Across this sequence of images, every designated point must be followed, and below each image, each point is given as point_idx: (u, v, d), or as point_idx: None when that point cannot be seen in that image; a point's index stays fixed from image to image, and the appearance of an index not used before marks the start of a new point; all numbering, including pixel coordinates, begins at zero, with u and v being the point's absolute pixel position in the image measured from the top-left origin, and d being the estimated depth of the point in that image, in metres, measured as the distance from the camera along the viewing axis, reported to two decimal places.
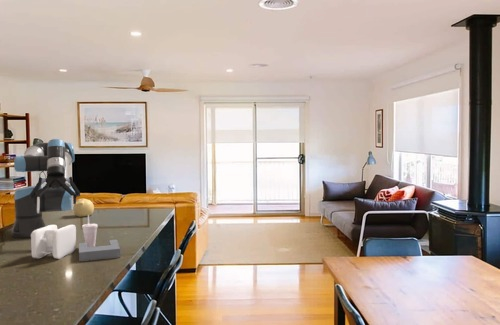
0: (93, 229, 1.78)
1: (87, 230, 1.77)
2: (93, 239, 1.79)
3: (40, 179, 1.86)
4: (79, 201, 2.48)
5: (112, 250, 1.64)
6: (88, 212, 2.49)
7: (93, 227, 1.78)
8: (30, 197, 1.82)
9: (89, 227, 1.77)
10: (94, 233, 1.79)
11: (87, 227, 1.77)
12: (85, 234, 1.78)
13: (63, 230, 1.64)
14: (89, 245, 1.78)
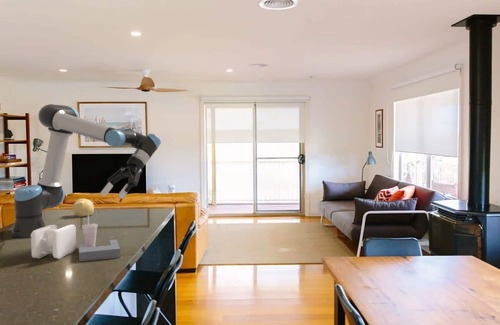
0: (93, 229, 1.78)
1: (87, 230, 1.77)
2: (93, 239, 1.79)
3: None
4: (79, 201, 2.48)
5: (112, 250, 1.64)
6: (88, 212, 2.49)
7: (93, 227, 1.78)
8: (133, 183, 1.85)
9: (89, 227, 1.77)
10: (94, 233, 1.79)
11: (87, 227, 1.77)
12: (85, 234, 1.78)
13: (63, 230, 1.64)
14: (89, 245, 1.78)
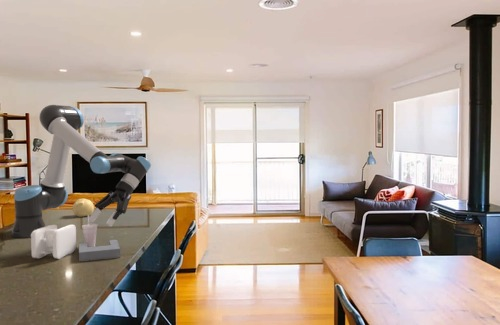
0: (93, 229, 1.78)
1: (87, 230, 1.77)
2: (93, 239, 1.79)
3: None
4: (79, 201, 2.48)
5: (112, 250, 1.64)
6: (88, 212, 2.49)
7: (93, 227, 1.78)
8: (122, 210, 1.79)
9: (89, 227, 1.77)
10: (94, 233, 1.79)
11: (87, 227, 1.77)
12: (85, 234, 1.78)
13: (63, 230, 1.64)
14: (89, 245, 1.78)
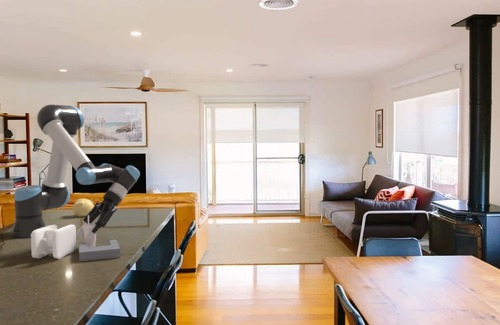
0: None
1: (88, 230, 1.77)
2: (93, 239, 1.79)
3: None
4: (79, 201, 2.48)
5: (112, 250, 1.64)
6: (88, 212, 2.49)
7: None
8: (101, 224, 1.77)
9: (89, 227, 1.77)
10: None
11: (87, 227, 1.77)
12: (85, 234, 1.78)
13: (63, 230, 1.64)
14: (89, 245, 1.78)
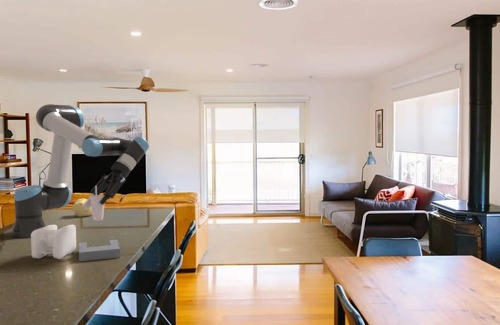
0: None
1: (95, 202, 1.69)
2: (101, 211, 1.71)
3: None
4: (79, 201, 2.48)
5: (112, 250, 1.64)
6: (88, 212, 2.49)
7: None
8: (109, 194, 1.68)
9: (97, 198, 1.69)
10: None
11: (95, 198, 1.69)
12: (93, 205, 1.70)
13: (63, 230, 1.64)
14: (96, 217, 1.70)
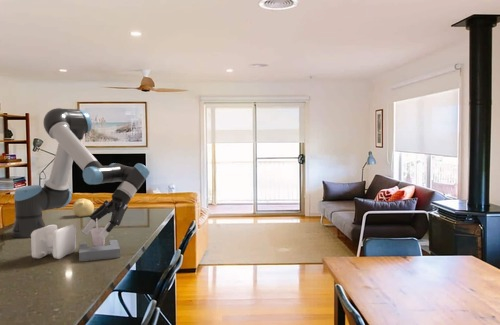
0: None
1: (96, 234, 1.70)
2: (102, 243, 1.72)
3: None
4: (79, 201, 2.48)
5: (112, 250, 1.64)
6: (88, 212, 2.49)
7: None
8: (115, 222, 1.68)
9: (98, 231, 1.70)
10: None
11: (96, 231, 1.69)
12: (93, 238, 1.70)
13: (63, 230, 1.64)
14: None
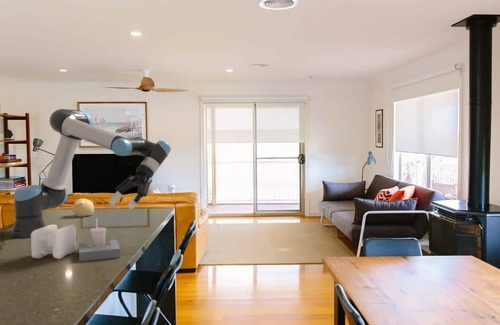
0: (102, 233, 1.71)
1: (96, 235, 1.70)
2: (102, 243, 1.71)
3: None
4: (79, 201, 2.48)
5: (112, 250, 1.64)
6: (88, 212, 2.49)
7: (102, 231, 1.70)
8: (143, 193, 1.78)
9: (98, 231, 1.69)
10: (103, 237, 1.71)
11: (96, 231, 1.69)
12: (93, 238, 1.70)
13: (63, 230, 1.64)
14: None
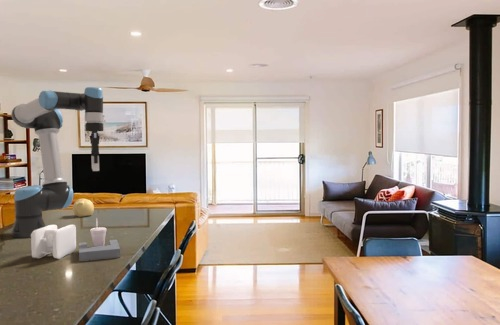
0: (102, 233, 1.71)
1: (96, 235, 1.70)
2: (102, 243, 1.71)
3: None
4: (79, 201, 2.48)
5: (112, 250, 1.64)
6: (88, 212, 2.49)
7: (102, 231, 1.71)
8: (94, 154, 1.78)
9: (98, 231, 1.69)
10: (103, 237, 1.71)
11: (96, 231, 1.69)
12: (93, 238, 1.70)
13: (63, 230, 1.64)
14: None
